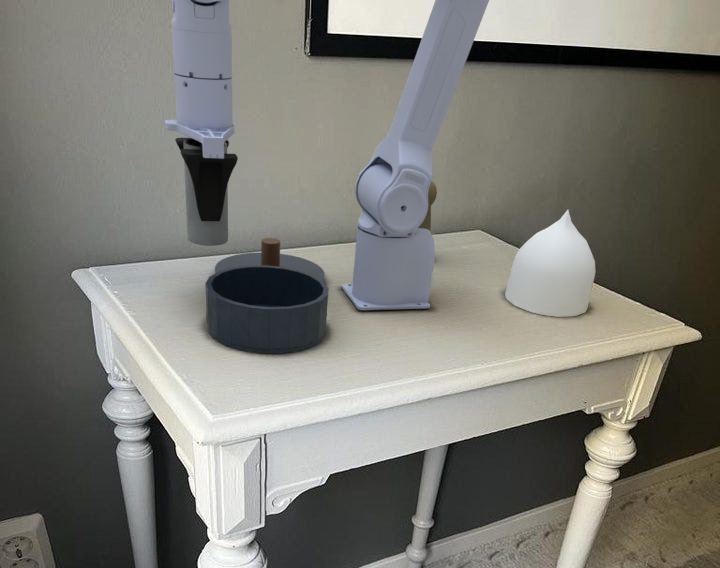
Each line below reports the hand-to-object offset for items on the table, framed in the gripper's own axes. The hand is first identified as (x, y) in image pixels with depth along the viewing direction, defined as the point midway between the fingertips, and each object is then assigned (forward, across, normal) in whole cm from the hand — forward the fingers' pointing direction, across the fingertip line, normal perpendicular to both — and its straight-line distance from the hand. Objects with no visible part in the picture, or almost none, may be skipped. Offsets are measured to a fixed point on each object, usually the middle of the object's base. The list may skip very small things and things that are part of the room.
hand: (207, 213), depth 82 cm
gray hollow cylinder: (+3, 0, 0) cm, 3 cm away
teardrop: (+11, +2, +44) cm, 46 cm away
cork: (+11, -16, +31) cm, 37 cm away
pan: (+10, +8, +5) cm, 14 cm away
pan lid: (+10, -8, +9) cm, 15 cm away
